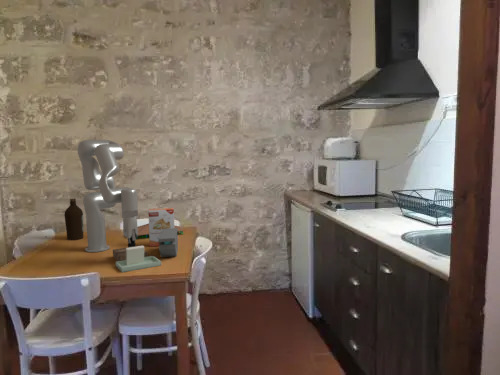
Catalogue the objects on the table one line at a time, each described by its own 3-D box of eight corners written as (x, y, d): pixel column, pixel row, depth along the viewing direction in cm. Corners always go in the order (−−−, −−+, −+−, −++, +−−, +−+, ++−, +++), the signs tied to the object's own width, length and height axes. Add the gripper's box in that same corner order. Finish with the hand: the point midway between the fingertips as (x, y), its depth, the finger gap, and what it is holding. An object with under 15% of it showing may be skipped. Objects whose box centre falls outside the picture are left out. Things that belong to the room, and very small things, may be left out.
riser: (113, 257, 201) (112, 249, 200) (138, 253, 207) (138, 245, 207) (120, 264, 187) (120, 256, 187) (147, 260, 194) (147, 252, 194)
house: (126, 234, 259) (126, 221, 258) (176, 229, 272) (176, 217, 271) (131, 241, 238) (130, 227, 237) (184, 235, 251) (184, 222, 250)
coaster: (126, 247, 184) (127, 250, 182) (143, 245, 188) (144, 247, 186) (125, 262, 186) (126, 264, 185) (142, 260, 191) (143, 262, 189)
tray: (115, 265, 185) (115, 261, 185) (153, 259, 195) (152, 255, 195) (122, 272, 175) (121, 268, 175) (161, 265, 185) (161, 261, 184)
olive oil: (67, 241, 239) (65, 200, 237) (64, 238, 248) (61, 198, 246) (86, 238, 245) (83, 198, 243) (82, 235, 254) (80, 197, 252)
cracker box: (149, 247, 220) (147, 210, 218) (150, 244, 226) (148, 208, 224) (175, 245, 223) (173, 208, 221) (175, 243, 229) (173, 207, 227)
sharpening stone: (175, 260, 193) (174, 238, 192) (159, 260, 192) (158, 239, 191) (178, 247, 218) (177, 228, 217) (163, 248, 217) (163, 228, 216)
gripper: (118, 212, 196) (120, 249, 198) (126, 216, 183) (128, 255, 185) (133, 211, 200) (135, 246, 202) (142, 215, 187) (144, 253, 189)
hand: (132, 250), depth 193 cm, fingers closed
